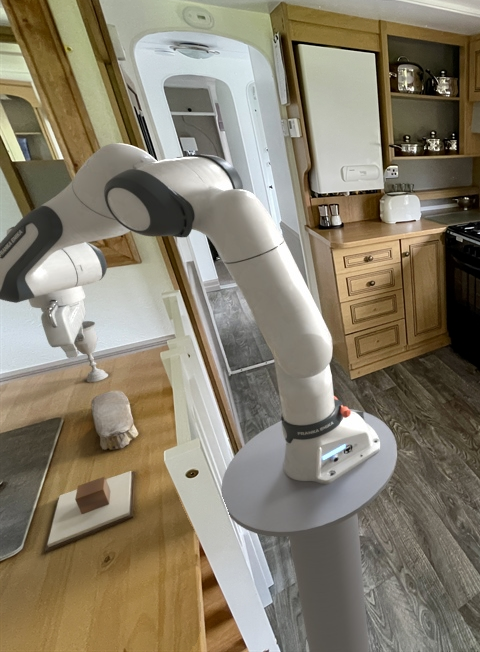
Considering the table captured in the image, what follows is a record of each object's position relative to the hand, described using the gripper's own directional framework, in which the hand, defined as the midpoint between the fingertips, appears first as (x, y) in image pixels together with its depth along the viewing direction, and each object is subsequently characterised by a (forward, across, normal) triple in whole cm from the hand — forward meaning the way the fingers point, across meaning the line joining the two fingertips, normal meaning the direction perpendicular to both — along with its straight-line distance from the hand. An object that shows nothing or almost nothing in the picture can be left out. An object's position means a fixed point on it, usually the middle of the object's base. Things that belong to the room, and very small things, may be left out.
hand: (76, 348), depth 91 cm
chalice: (+23, +30, +4) cm, 38 cm away
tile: (+23, -32, -1) cm, 39 cm away
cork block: (+22, -32, -2) cm, 38 cm away
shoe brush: (+23, -2, -2) cm, 23 cm away
